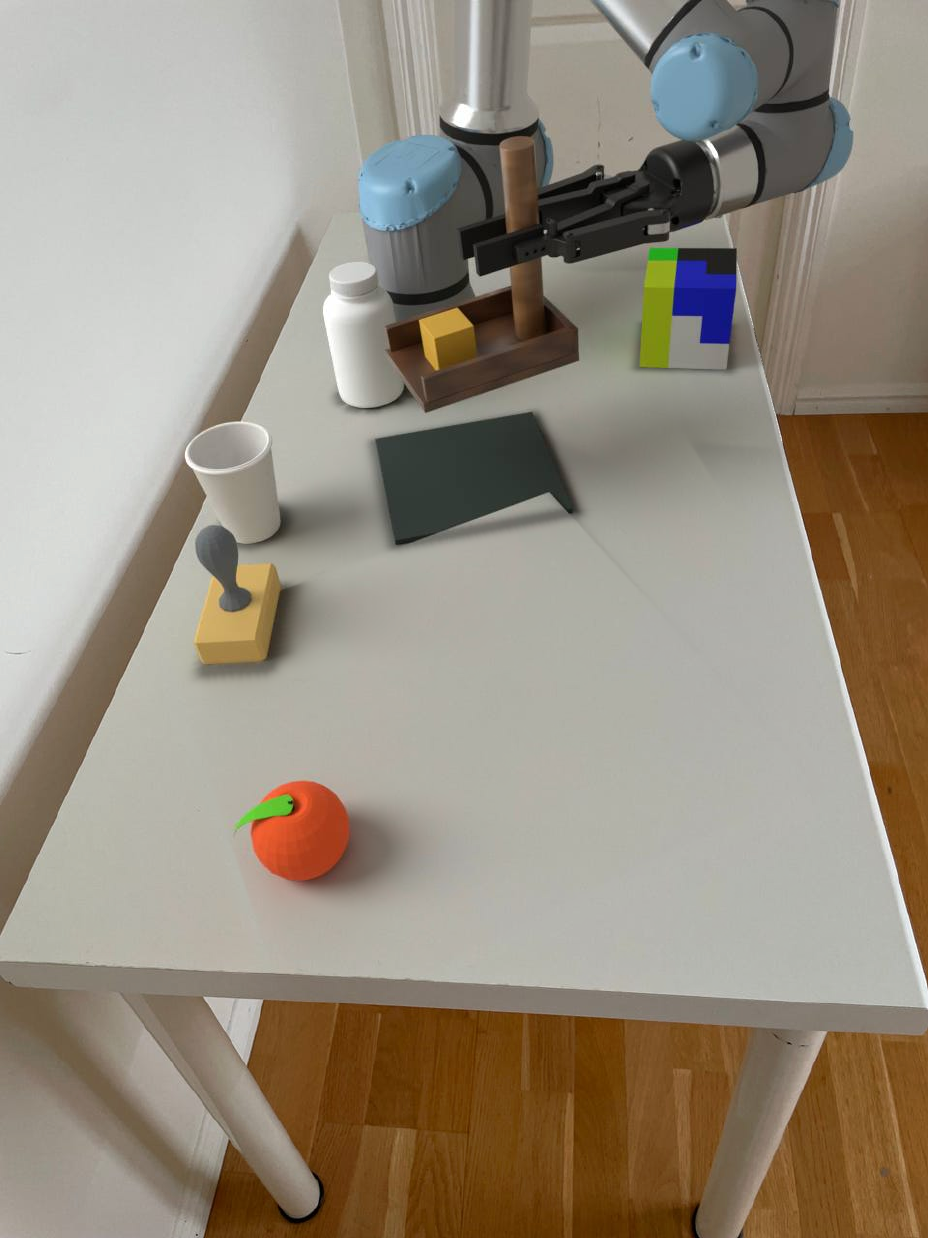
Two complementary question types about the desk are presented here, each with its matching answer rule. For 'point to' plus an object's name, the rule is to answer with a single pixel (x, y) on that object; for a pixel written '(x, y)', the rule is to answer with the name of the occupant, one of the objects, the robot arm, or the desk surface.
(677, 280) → the puzzle toy
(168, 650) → the desk surface
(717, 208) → the robot arm
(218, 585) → the rubber stamp
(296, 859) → the clementine
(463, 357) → the block
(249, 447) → the dixie cup
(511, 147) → the wooden peg tray
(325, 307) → the pill bottle
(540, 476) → the mat
